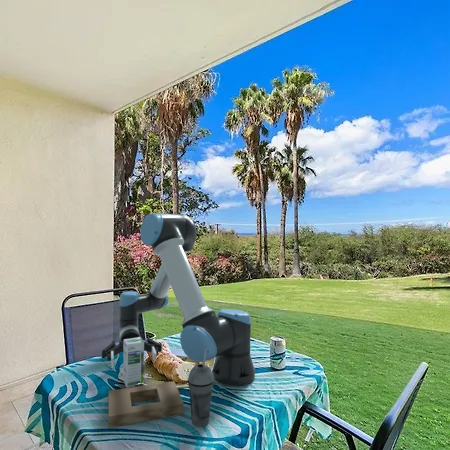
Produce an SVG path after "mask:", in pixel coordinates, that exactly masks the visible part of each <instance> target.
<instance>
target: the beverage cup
mask: <svg viewBox="0 0 450 450" xmlns="http://www.w3.org/2000/svg"><path fill="white" fill-rule="evenodd" d="M206 351H207V349H205V352H204V360H203V362H202V363H199V364H196V365H195V366H194V367H192V368H191V369H190V370H189V374H188V376H187V377H188V378H187V384H188V389H189V400H190V401H189V403H190V415H191V416H190V417H191V422H192V425H193V426H194V427H197V428H205V427H206V426H208V424H209V421H210V416H211V415H210V414H211V404H212V394H213V388H214V383H215V380H214V376H213V372H212V368H211V367H209V366H208V365H207V364H206V361H205V359H206Z"/></svg>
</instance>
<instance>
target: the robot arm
mask: <svg viewBox="0 0 450 450" xmlns="http://www.w3.org/2000/svg"><path fill="white" fill-rule="evenodd" d="M139 230H140V234H139V235H140V239H141V242H142V243H143V245H145V246H147V247H151V249H152V252H153V253H154V255H156V256H159V257H160V260H161V262H162V263H161V265H160V267H159V269H158V272H157V273H156V276H155V278H154V280H153V282H152V284H151V287H150V289H149V291H148V292H147V293H143V294H139V293H138V291H134V290H133V291H131V290H130V291H123V292H122V293H120V295H119V323H118V324H119V326H118V333H119V342H116V341H115V340H112V341H111V342H110V344H109V345H107V346H106V347H105V348H103V349H102V350H101V359H106V361H107V362H110V368H114V365H115V364H114V363H115V362H114V360H115V359H114V357H116V356H117V355H119V354H120V353H122V354H123V340H124V339H131V338H138V337H141V334H140V332H139V315H140V314H143V313H147V312H151V311H156V310H160V309H163V308H165V307H168V304H169V295H168V293H169V290H170V288H172V291H173V294H174V295H175V299H176V301H177V304H178V306H179V309H180V311H181V314H182V317H183V320H182V323H181V327H182V330H181V332H180V335H179V337H180V339H179V341H180V346H181V348H182V351H183V352H184V355H186V356H187V358H188V359H190V360H192V361H193V362H196V363H203V360H204V352H205V349H207V351H206V359H205V362H206V361H211V360H213V359H214V358H215V359H214V363H213V366H212V368H211V370H212V372H213V376H214V382H217V383H218V384H221V385H225V386H229V387H230V386H231V387H235V386H237V387H239V386H245V385H248V384H250V383H252V382H254V380H255V379H256V378H255V377H256V370H255V366H254V362H253V359H252V356H251V339H252V338H251V336H252V335H251V334H252V331H251V330H252V323H251V322H252V321H251V314H249V312H246V311H243V310H240V309H239V310H238V309H235V308H234V309H232V308H229V309H228V308H223V309H219V310H218V312H217V314H216V311H215V310H214V309H212V308H210V307H208V305H207V303H206V300H205V297H204V295H203V293H202V290H201V288H200V285H199V284H198V283H199V282H198V281H197V279H196V276H195V274H194V272H193V269H192V267H191V264H190V262H189V260H188V258H187V257H188V256H187V253H189V252H191V251H192V249H193V248H194V245H195V243H196V239H197V226H196V224H195V222H194V221H193V219H192V218H191V217H190V216H188V215H186V214H183V213H160V212H155V213H149V214H147V215H146V216H145V217H144V218H143V220H142V223H141V226H140V229H139ZM142 340H143V339H142ZM143 341H144V352H148V353H151V356H152V360H153V362H157V356H159V353H162V352H163V351H162V350H163V345H162V343H160V342H157V341H156V340H153V339H151V337H146V339H144V340H143Z"/></svg>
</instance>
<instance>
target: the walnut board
mask: <svg viewBox="0 0 450 450" xmlns="http://www.w3.org/2000/svg"><path fill="white" fill-rule="evenodd" d="M181 396H182V395H181V393H180V391H179V389H178V387H177V384H176V382H175V380H173V381H166V382H165V381H164V382H160V383H152V384H145V385H138V386H133V387H129V388H126V387H125V388H119V389H111V390H108V429H110V428H117V427H122V426H126V425H127V426H128V425H132V424H133V425H134V424H137V423H143V422H148V421H149V422H150V421H155V420H160V419H166V418H170V417H177V416H181V415H184V413H185V411H184V410H185V409H184V407H185V406H184V402H183V399H182V397H181ZM153 399H154V400H155V399H156V401H157V402H151V403H146V404H139V405H135V406H132V403H134V402H135V403H136V402H140V401H141V402H142V401H147V400H153Z"/></svg>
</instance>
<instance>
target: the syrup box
mask: <svg viewBox="0 0 450 450" xmlns="http://www.w3.org/2000/svg"><path fill="white" fill-rule="evenodd" d="M122 355H123V356H122V357H123V361H122V362H123V364H122V365H123V367H122V368H123V372H122V373H123V379H124V381H123V383H124V385H125V388H131V387H136V386H135V384H138V383H144V384H145V379H144V378H145V373H144V372H145V370H144V369H145V351H144V341H143V338H142V336H140V337H138V338H131V339H124V340H123V353H122Z"/></svg>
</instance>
